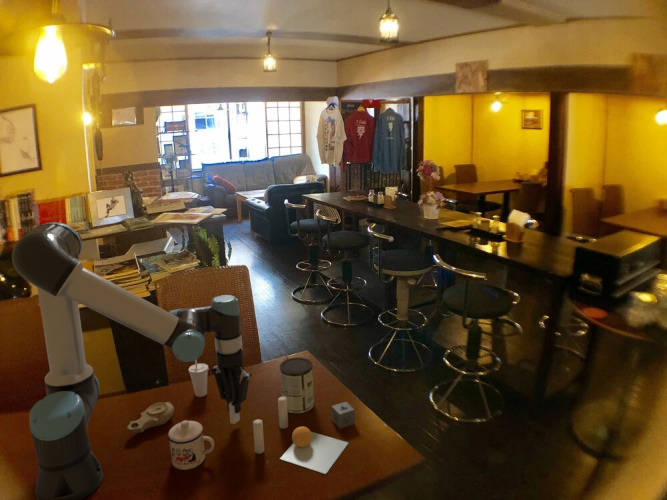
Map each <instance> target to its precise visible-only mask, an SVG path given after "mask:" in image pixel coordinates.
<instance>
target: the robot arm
mask: <svg viewBox="0 0 667 500" xmlns="http://www.w3.org/2000/svg"><path fill="white" fill-rule="evenodd" d="M81 251H82V239H81V237H80V235H79V234H78V232H77V231H76V230H75V229H74V228H72V227H71V226H70V225H68V224H66V223H64V222H63V223H62V222H57V221H53V222H47V223H44V224H43V223H42V224H39V225H38V226H36V227H34V228H33V229H32V230H31V231H30V232H28V233H27V234H24V236H22V237H21V238H20V239H19V240H18V241H16V243H15V244H14V247H13V249H12V253H11V260H12V266H13V267H14V269H15V271H16V273H18V274H19V276H21V278H22V279H24V280H25V281H27V282H28V283H30V284H31V285H33V286H34V287H36V288H37V294H38V300H39V306H40V307H39V309H40V315H41V321H42V328H43V334H44V339H45V340H44V341H45V347H46V352H47V354H46V355H47V361H48V366H49V372H47V374H46V375H45V377H44V385H45V391H46V396H44V397H43V399H39V400H38V401H37V402H35V404H34V405H33V407H31V409H30V412H29V417H28V420H29V430H30V432H31V437H32V441H33V446H34V451H35V454H36V459H37V465H38V470H37V474H36V475H37V476H36V482H35V485H34V492H35V497H36V500H84V499H85V498H86V497H88V496H90V495H91V494H92V493H93V492H95V491H96V489H98V487H99V486H100V484H101V483H102V481H103V477H104V474H103V469H102V465H101V464H100V461H99V460H98V458H97V457H96V456H95V454H94V453H93V451H92V450H91V443H90V439H89V432H88V425H89V422H90V419H91V418H92V417H91V416H92V415H93V413H94V412H93V411H94V409H95V406H96V404H97V402H98V400H99V396H100V383H99V380H98V378H97V376H96V374H95V373H94V369H93V367H92V366H91V365H90V364H88V363H87V361H86V355H85V354H86V353H85V344H84V336H83V331H82V322H81V315H80V309H79V304H80V305H82V306H85V307H87V308H88V309H91V310H92V311H95V312H97V313H98V314H101V315H103V316H105V317H106V318H109V319H111V320H113V321H114V322H117V323H119V324H121V325H123V326H124V327H127V328H129V329H131V330H132V331H135V332H137V333H139V334H141V335H143V336H145V337H146V338H148V339H151V340H153V341H155V342H157V343H159V344H161V345H163V346H165V347H167V348H169V349H171V350H172V354H173V355H174V357H175V358H176V359H177V360H178V361H180V362H184V363H189V362H190V363H192V362H195V360H196V359H197V360H198V359H199V358H200V357H202V354H203V352H204V348H205V345H206V341H205V334H210V333H214V346H215V347H214V349H215V357H216V363H217V364H216V365H215V366H213V367H212V368H211V372H212V374H213V376H214V379H215V382H216V386H217V388H218V392H219V396H220V399H222V400H225V402H226V406H227V411H228V412H229V421H230V422H229V423H230V424H232V425H235V424H236V423H238V422H239V421H240V420H241V415H240V412H241V411H242V406H241V404H242V403H243V402H245V401H246V400H247V395H248V394H247V393H248V390H249V383H250V381H249V380H250V379H251V377H252V373H251V372H248V373H247V371H246V370H245V367H244V365H243V362H244V350H243V340H242V339H243V337H242V322H241V321H242V319H241V309H240V305H239V304H240V303H239V302H240V301H239V299H238V298H237V297H236V296H234V295H231V294H222V295H219V296H215V297H213V298H212V299H211V301H210V305H206V306H196V307H193V306H192V307H185V308H183V307H182V308H176V309H173V310H172V309H171V310H169V311H167V310H165V309H163V308H161V307H159V306H158V305H155V304H154V303H152V302H150V301H148V300H147V299H144V298H142V297H140V296H138V295H136V294H134V293H133V292H131V291H129V290H127V289H125V288H123V287H122V286H119V285H117V284H116V283H114V282H113V281H111V280H108V279H106V278H104V277H103V276H100V275H99V274H97V273H96V272H95V273H94V272H93V271H91V270H89V269H88V268H85V267H84V264H83V262H82V261H81V260H80V254H81Z"/></svg>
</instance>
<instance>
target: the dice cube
mask: <svg viewBox="0 0 667 500" xmlns="http://www.w3.org/2000/svg"><path fill="white" fill-rule="evenodd" d="M331 421H332V422H333V424H334V425H336V427H337V428H338V429H339V430H341V429H345V428H348V427H350V426H353V425H355V424H356V423H355V421H356V420H355V408H354V407H352V406H351V405H350V404H349V403H348V402H347V401H344V402H340V403H337V404H333V405H331Z"/></svg>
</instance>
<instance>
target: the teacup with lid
mask: <svg viewBox="0 0 667 500" xmlns="http://www.w3.org/2000/svg"><path fill="white" fill-rule="evenodd" d="M167 437H168V438H167V439H168V440H169V447H170V456H171V463H172V466H173V467H174V468H175V469H177V470H182V471H183V470H184V471H187V470H191V469H194V468H197V467H199V466H200V465H201V464H202V463H203V461H204V460H205V458H206V455H207V454H210V453H211V452H212V451H213V450H214V448H215V441H214V439H213V438H212V437H211V436H207V435H204V427H203V425H202V424H201V423H200V422H198V421H196V420H182V421H181V422H178V423H177V424H174V426H172V427H171V428H170V429H169V431H168V434H167ZM204 441H207V442H209V443H210V448H207V449H205V442H204Z"/></svg>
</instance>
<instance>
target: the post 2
mask: <svg viewBox="0 0 667 500" xmlns="http://www.w3.org/2000/svg"><path fill="white" fill-rule="evenodd" d="M277 406H278V407H277V409H278V424H279V425H278V426H279V428H280V429H288V427H289V417H288V416H289V415H288V413H289V412H288V411H287V398H286V397H282V396H280V397H279V398H278V399H277Z"/></svg>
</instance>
